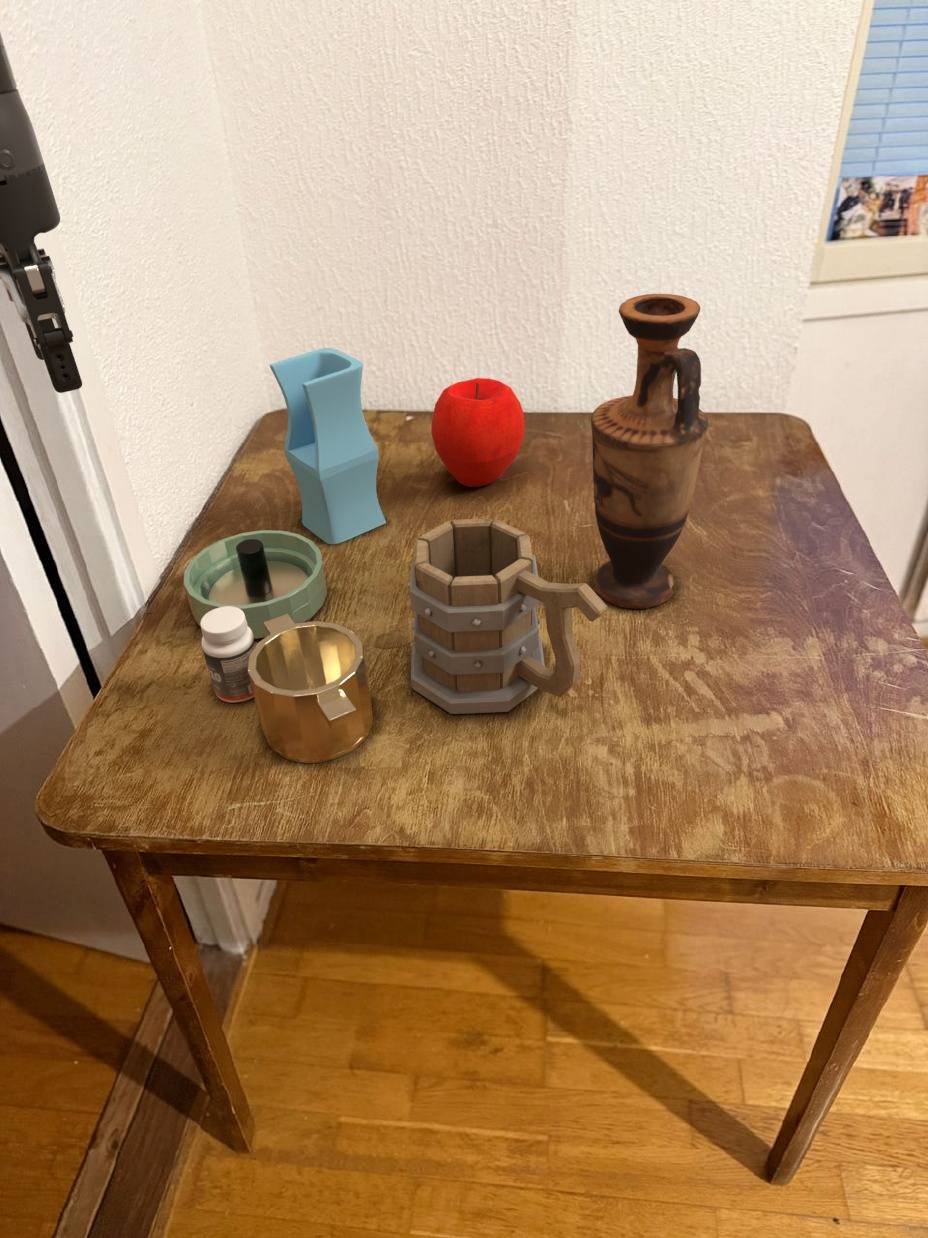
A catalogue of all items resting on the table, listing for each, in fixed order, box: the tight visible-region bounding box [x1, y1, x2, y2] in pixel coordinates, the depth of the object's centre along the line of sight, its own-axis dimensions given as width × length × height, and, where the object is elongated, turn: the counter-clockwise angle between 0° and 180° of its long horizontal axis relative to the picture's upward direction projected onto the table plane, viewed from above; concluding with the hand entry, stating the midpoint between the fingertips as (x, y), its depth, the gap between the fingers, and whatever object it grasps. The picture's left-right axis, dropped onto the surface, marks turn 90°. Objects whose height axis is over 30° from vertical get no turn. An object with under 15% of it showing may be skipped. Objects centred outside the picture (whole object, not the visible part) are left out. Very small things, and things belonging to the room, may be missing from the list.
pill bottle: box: [199, 606, 257, 703], centre depth 82 cm, size 5×5×8 cm
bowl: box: [183, 529, 328, 640], centre depth 95 cm, size 14×14×4 cm
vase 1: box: [269, 347, 387, 545], centre depth 102 cm, size 8×8×20 cm
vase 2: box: [590, 293, 709, 610], centre depth 86 cm, size 11×11×30 cm
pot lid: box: [209, 539, 308, 605], centre depth 94 cm, size 11×11×7 cm
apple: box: [430, 377, 525, 488], centre depth 110 cm, size 12×12×13 cm
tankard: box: [407, 517, 608, 715], centre depth 79 cm, size 20×13×15 cm, turn 46°
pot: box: [248, 614, 374, 764], centre depth 78 cm, size 10×15×8 cm, turn 30°
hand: (59, 372), depth 76 cm, fingers open, 8 cm apart
